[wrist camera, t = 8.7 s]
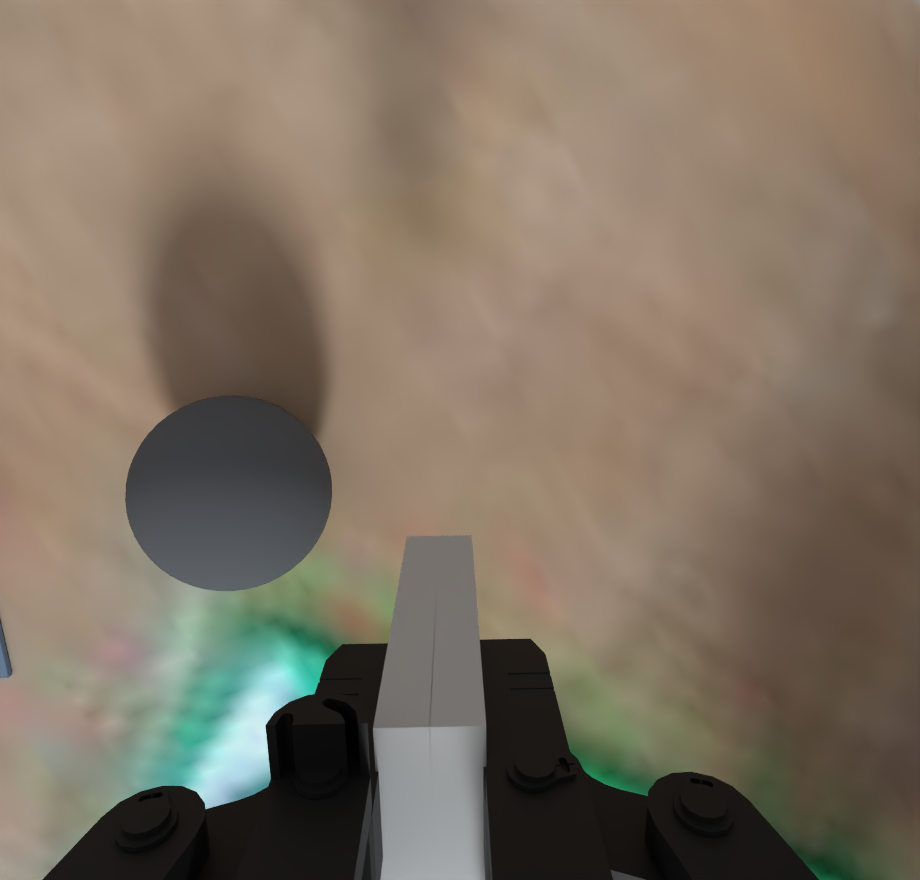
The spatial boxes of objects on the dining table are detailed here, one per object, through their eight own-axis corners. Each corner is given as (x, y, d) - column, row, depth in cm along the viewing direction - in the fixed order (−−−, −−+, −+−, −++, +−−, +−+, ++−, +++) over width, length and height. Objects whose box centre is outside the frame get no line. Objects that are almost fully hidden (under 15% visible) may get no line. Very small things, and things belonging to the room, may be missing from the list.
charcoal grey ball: (95, 409, 14) (145, 380, 20) (105, 634, 16) (150, 550, 21) (342, 415, 16) (328, 387, 21) (335, 620, 17) (323, 546, 22)
